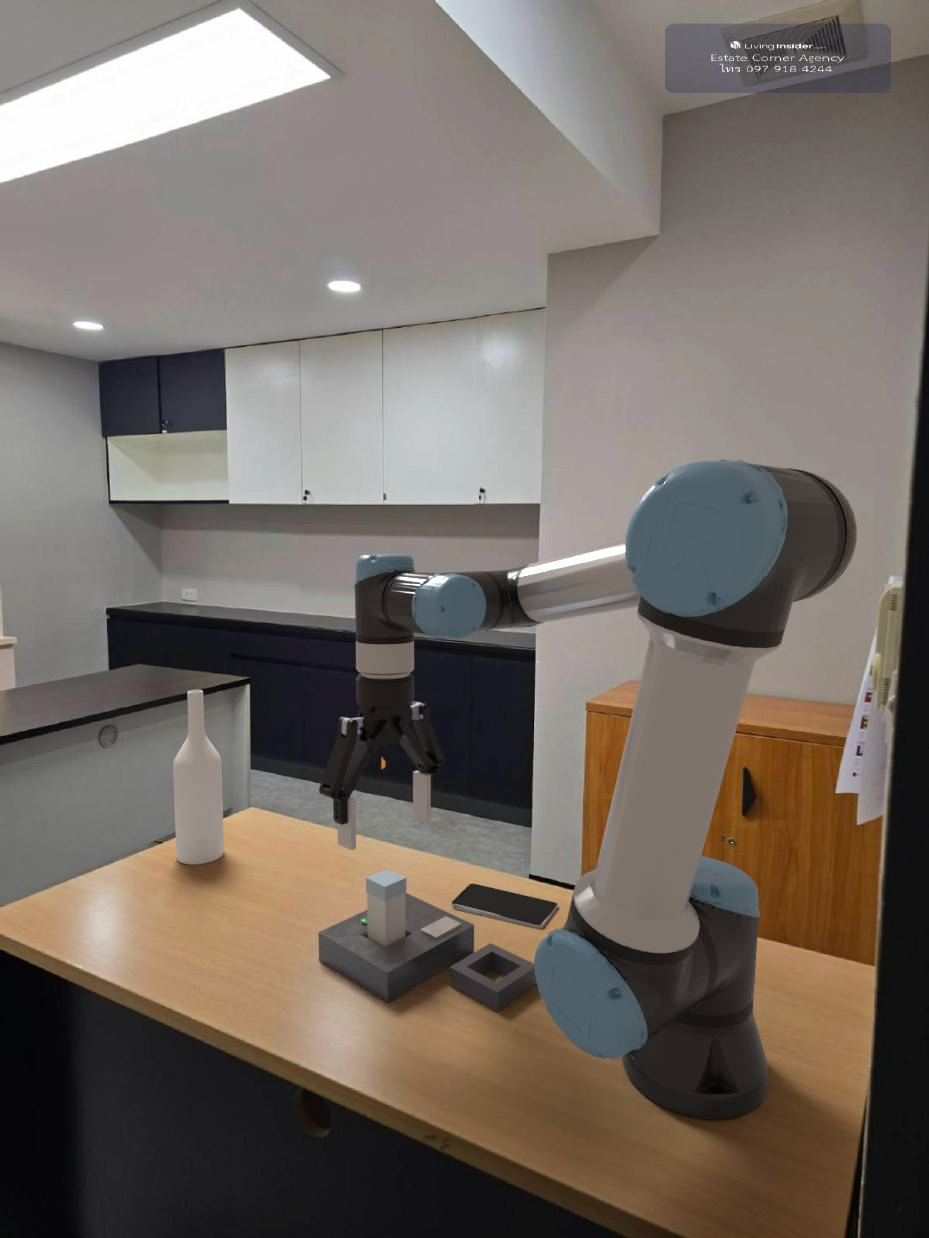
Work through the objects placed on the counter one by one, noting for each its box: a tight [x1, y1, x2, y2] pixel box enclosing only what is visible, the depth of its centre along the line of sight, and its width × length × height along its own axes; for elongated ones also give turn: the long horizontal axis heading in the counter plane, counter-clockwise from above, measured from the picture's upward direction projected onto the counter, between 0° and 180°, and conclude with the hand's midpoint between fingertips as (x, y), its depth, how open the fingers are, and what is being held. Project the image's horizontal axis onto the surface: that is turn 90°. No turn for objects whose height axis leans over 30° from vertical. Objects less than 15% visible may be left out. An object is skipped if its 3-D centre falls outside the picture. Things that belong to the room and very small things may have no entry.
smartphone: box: [450, 883, 558, 930], centre depth 120 cm, size 8×1×15 cm
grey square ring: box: [449, 942, 537, 1012], centre depth 99 cm, size 8×8×2 cm
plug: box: [365, 868, 407, 948], centre depth 103 cm, size 4×4×12 cm
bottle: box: [172, 689, 225, 866], centre depth 136 cm, size 8×8×30 cm
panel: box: [318, 892, 475, 1004], centre depth 105 cm, size 14×16×4 cm
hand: (386, 831), depth 102 cm, fingers open, 12 cm apart
